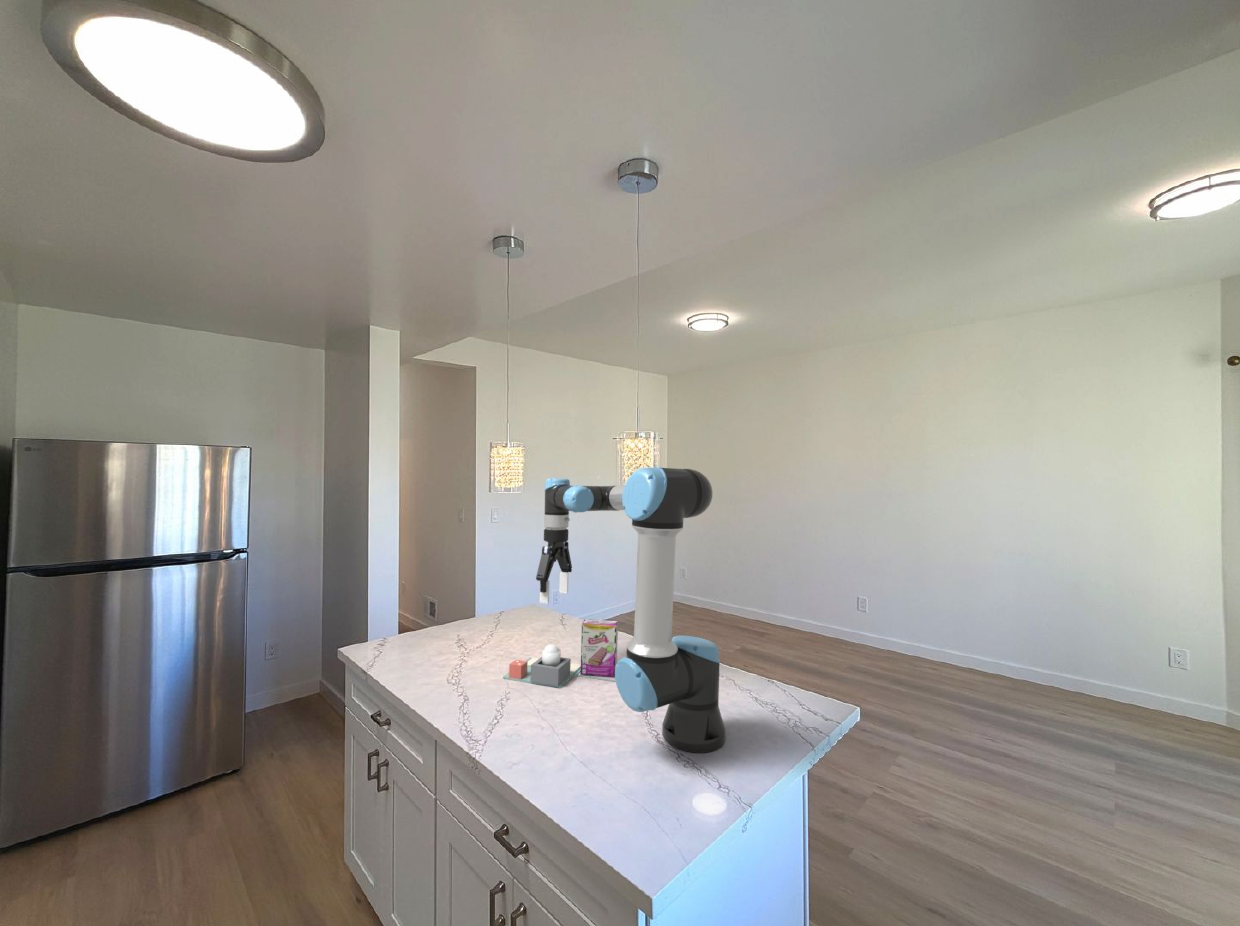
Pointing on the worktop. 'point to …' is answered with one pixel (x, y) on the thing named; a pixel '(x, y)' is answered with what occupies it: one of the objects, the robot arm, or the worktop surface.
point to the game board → (542, 672)
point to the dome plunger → (551, 655)
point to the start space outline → (592, 677)
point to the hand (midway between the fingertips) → (554, 597)
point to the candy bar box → (599, 647)
